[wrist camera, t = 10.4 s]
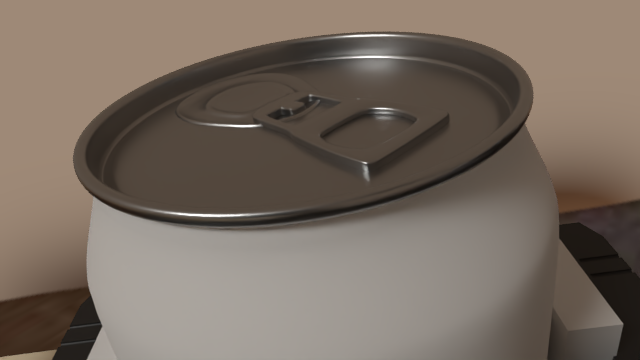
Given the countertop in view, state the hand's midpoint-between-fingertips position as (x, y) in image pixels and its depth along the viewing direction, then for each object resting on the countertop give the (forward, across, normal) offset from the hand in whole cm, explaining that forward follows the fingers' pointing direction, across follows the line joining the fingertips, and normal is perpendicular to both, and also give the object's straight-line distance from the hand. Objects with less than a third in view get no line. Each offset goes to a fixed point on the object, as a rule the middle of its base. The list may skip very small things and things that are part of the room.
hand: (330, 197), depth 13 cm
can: (-5, 0, -7) cm, 9 cm away
